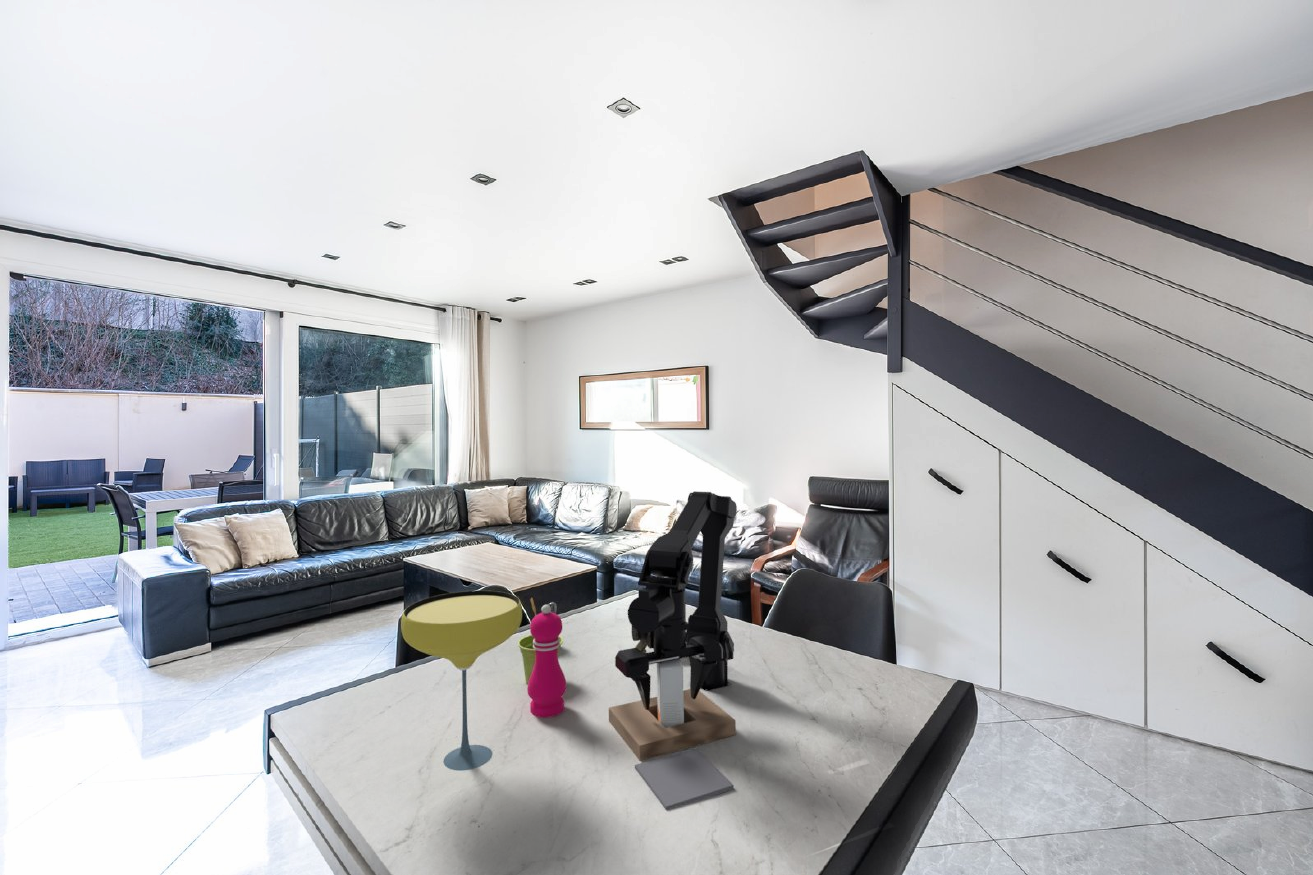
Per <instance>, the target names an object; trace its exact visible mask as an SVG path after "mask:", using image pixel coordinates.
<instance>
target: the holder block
mask: <svg viewBox="0 0 1313 875" xmlns="http://www.w3.org/2000/svg"><path fill="white" fill-rule="evenodd" d="M683 695H684V723H683V724H680V725H676V726H672V727H668V728H665V727H664V726H663V725H662V724H661V723H660V722H659V721H658V703H657V696H655V697H650V706H649V710H646V709H645V708H644V705H643V702H642V699H640V700H637V701H630V702H628V703H624V704H623V703H622V704H619V705H615V706H610V707H608V723H610V725H611V726H612V728H613V729H614V730H615V731H616V732H617V734H618V735H619V736H620V737H621V739H622V740H623V741H624V743H625V744H626V745H627V747H628V748H629V749H630V750H631V751H632V753H633V755H635V757H636V758H637V759H638V761H639V762H640V761H644V760H647V759H653V758H656V757H660V756H664V755H669V754H673V753H675V752H678V751H682V750H687V749H689V748H690V749H691V748H692V747H697V746H700V745H703V744H707V743H711V742H715V741H718V740H721V739H725V738H729V737H732V736H735V735H736V733H737V732H736V727H737V726H736V719H735V718H733V717H732V716H731V715H730V714H728V713H727V712H726V711H725V710H724V709H722V707H720V706H719V705H718V704H716V703H715V702H714V701H713V700H711V699H710V698H709V697H708V696H707V695H705V694H704V693H703V692H701V691H700V690H699V693H698V695H697V697H696V699H693V698H691V692H690V688H689V689H685V690H684V689H683Z"/></svg>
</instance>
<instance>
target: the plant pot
mask: <svg viewBox="0 0 1313 875" xmlns="http://www.w3.org/2000/svg"><path fill="white" fill-rule="evenodd" d="M558 637H559V638H560V641H559V643H560V646H559V647H558V651H557V654H558V658H559V655H560V651H561V648H562V645H563V643H564V638H563V637H562V636H561V635H559V636H558ZM534 639H535V638H534V637H533V636H532V635H531V634H530V635H527V636H524V637H522V638H520V639H519V640H517V641H518V642H517V647H519V649H520V653H521V657H522V663H523V670H524V677H525V684H527V685H528V682H529V678H530V676H531V674H532V671H533V669H534V666H535V660H536V652H535V649H534V648H533V645H534V643H533V640H534Z"/></svg>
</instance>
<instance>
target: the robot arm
mask: <svg viewBox="0 0 1313 875" xmlns="http://www.w3.org/2000/svg"><path fill="white" fill-rule="evenodd" d="M737 512H738V508H737V503H736V501H734V500H732V497H731V496H727V495H726V496H725V495H723V496H722V495H719V494H716V493H714V492H713V493H712V492H711V491H693V492H690V493H689V494H688V497H687V502H686V503H685V506H684V507H683V509H682V511H681V513H680V514H679V515H678V517H677V519H676V520H675V522H674V523H673V526H672V528H671V529H670V531H669V532H667V533H665V534H663V535H661V536H658V537H657V539H656V540H654V542H653V543H651V545H650V547H649V549H648V550H647V551H646V555H645V558H644V560H643V564H642V568H641V572H640V574H639V579H638V582H637V584H638V585H637V586H639V587H640V586H641V588H640V589H638V597H636V598H635V599H633V600H632V601H631V602H630V603H629V606H628V609H627V618H628V621H629V624H630V625H631V638H632V640H633V642H638V641H640V640H642V645H644V644H648V645H647V647H648V648H649V649H650V650H651V649H653V651H649V652H646V653H643V652H641V651H640V650H639V649H638V648H635V647H633V648H632V647H631V648H627V649H620V650H618V651H617V653H616V655H615V657H614V658H615V659H614V660H615V661H614V662H615V663H614V665H615V667H616V668H617V670H618V671H619V672H620V673H621V674H622V675H623V676H624V677H625V678H629V679H631V680H632V681H633V682H634V683H635V685H636V688H637V690H638V693H639V696H640V700H642V702H643V705H644V708H645V709H646V710H649V706H650V698H651V675H650V674H649V673H648V672H649V670H650V665H655V664H657V663H660V662H665V661H670V660H675V659H684V658H688V660H689V664H690V680H689V689H690V692H691V698H693V699H696V697H697V695H698V693H699V691H700V690H701V689H702V691H705V692H709V691H712V690H717V689H721V688H726V687H730V686H732V683H731V682H729V676H728V674H729V673H728V672H729V670H728V668H729V667H728V661H729V660H733V659H734V652H735V643H734V641H733V639H732V636H731V635H730V633H729V631H728V620H727V618H726V616H725V614H724V612H723V610H722V607H721V606H722V591H723V590H722V589H723V588H722V587H723V577H724V576H723V575H724V572H723V571H724V558H725V557H724V556H725V546H726V545H725V542H726V537H727V536H728V535H729V533H730V531H731V530H732V529H733V528H734V524H735V523H734V521H735V518H736V517H737ZM700 533H701V535H702V542H701V543H702V544H701V545H702V546H701V558H700V571H699V572H700V573H699V587H698V601H697V602H698V603H697V607H696V608H695V610H694V612H693V613H692V614H690V615H689V616H688V618H686V617H687V616H686V614H687V612H686V609H687V608H686V603H687V602H686V586H687V585H688V584H689V577H690V574H691V571H692V568H693V566H694V557H693V552H692V549H693V546H694V544H695V542H696V540H697V538H698V536H699V535H700ZM651 575H653V576H651ZM657 576H664V577H665V578H662V577H657ZM686 619H687V620H686ZM686 644H687V645H686Z"/></svg>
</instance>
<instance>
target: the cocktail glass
mask: <svg viewBox="0 0 1313 875" xmlns="http://www.w3.org/2000/svg"><path fill="white" fill-rule="evenodd" d="M522 620H523V608H522V602H521V599H520V598H519V597H518V596H516V595H515V594H512V593H509V592H504V591H497V590H466V591H456V592H450V593H449V592H447V593H443V594H438V595H433V596H430V597H426V598H423V599H421V600H418V601H416V602H414V603H412V604H409V605H408V606H407V607H405V609H404V610H403V612H402V615H401V621H400V623H401V624H400V626H401V627H400V628H401V634H402V638H403V639H404V641H405V642H406V644H408V645H409V646H410V647H412V648H414V649H415V650H417V651H419V652H421V653H423V654H426V655H429V656H433V657H437V658H441V659H446V660H448V661H450V662H451V663H452V665H453V666H454V667H455V668H456V669H457V670H459V671H461V677H462V678H461V680H462V681H461V682H462V683H461V684H462V685H461V686H462V692H461V693H462V726H461V727H462V733H461V735H462V736H461V744H460V745H461V746H459V747H457V748H456V749H453V750H452V751H449V752H448V753H447V754H446V755H445V757H444V758H443V766H444V767H446V768H447V769H449V770H452V771H456V772H457V771H458V772H459V771H464V772H465V771H470V770H474V769H478V768H481V767H482V766H484V765H485V764H487V763H489V762H490V760H491V759H492V757H493V750H492V749H491V748H490V747H488V746H486V745H480V744H470V742H469V734H468V731H469V730H468V704H467V703H468V702H467V696H468V695H467V670H469V669H470V668H471V667H472V666H473V664H474V663H475V662H476V660H477V659H478V658H479V657H480V656H482V655H483V654H485V653H487V652H489V651H491V650H493V649H494V648H497V647H498V646H500V645H501V644H503V643H504V642H506V641H507V640H509V639H510V638H511V637H512V636H513V635H514V634H515V633H516V632H517V630H518V629H519V628H520V626H521V624H522Z"/></svg>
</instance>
